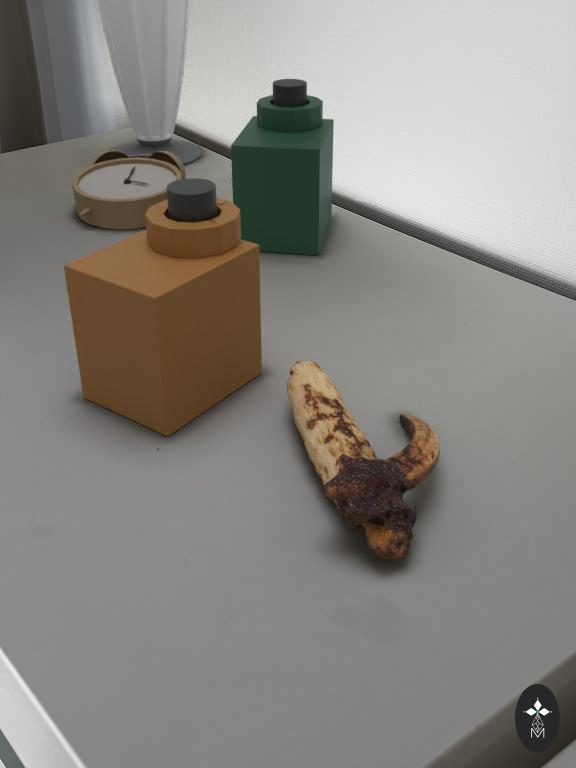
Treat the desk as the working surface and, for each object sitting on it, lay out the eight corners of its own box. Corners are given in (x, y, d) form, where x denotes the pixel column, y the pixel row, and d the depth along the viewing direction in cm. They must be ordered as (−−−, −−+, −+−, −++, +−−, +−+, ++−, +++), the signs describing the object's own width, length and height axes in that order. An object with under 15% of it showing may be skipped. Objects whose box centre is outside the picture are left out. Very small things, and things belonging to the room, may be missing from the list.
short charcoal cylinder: (276, 101, 84) (275, 78, 83) (308, 102, 83) (309, 79, 82) (270, 109, 81) (269, 85, 80) (304, 110, 81) (304, 87, 80)
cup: (170, 136, 115) (157, -46, 103) (220, 157, 107) (212, -37, 96) (91, 152, 109) (68, -39, 97) (138, 175, 101) (119, -29, 90)
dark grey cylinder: (191, 205, 60) (189, 174, 58) (227, 215, 58) (225, 184, 57) (158, 219, 57) (156, 187, 56) (195, 230, 56) (193, 197, 55)
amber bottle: (189, 336, 68) (179, 187, 62) (271, 367, 64) (268, 211, 58) (83, 397, 60) (58, 235, 54) (167, 437, 56) (152, 266, 50)
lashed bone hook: (500, 557, 47) (386, 382, 62) (515, 489, 45) (393, 324, 59) (336, 583, 45) (259, 396, 60) (343, 515, 43) (260, 337, 57)
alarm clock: (57, 201, 85) (93, 132, 96) (66, 244, 88) (100, 172, 100) (171, 204, 84) (193, 133, 96) (176, 247, 88) (197, 174, 99)
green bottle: (257, 209, 92) (254, 92, 85) (332, 213, 90) (335, 95, 84) (234, 250, 82) (229, 122, 76) (318, 255, 81) (320, 126, 75)
